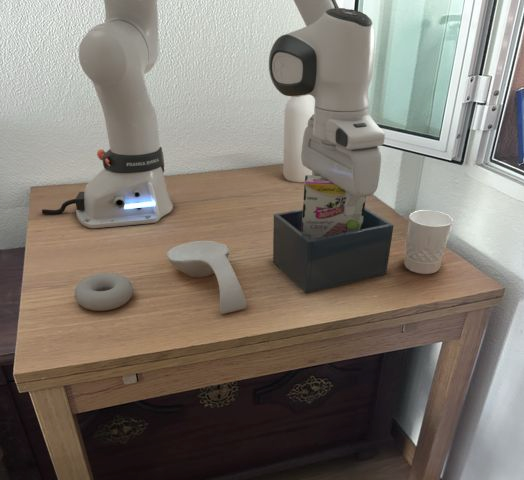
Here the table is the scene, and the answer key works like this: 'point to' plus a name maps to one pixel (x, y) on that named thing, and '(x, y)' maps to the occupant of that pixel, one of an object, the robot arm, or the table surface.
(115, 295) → the donut
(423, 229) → the white cup
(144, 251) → the table surface
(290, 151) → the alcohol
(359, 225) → the candy bar box
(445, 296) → the table surface
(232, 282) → the spoon rest
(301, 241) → the holder
